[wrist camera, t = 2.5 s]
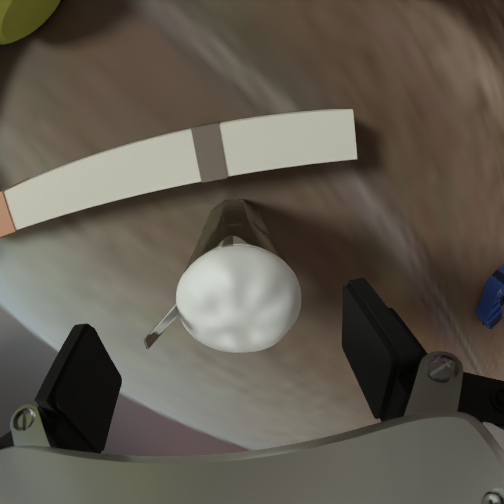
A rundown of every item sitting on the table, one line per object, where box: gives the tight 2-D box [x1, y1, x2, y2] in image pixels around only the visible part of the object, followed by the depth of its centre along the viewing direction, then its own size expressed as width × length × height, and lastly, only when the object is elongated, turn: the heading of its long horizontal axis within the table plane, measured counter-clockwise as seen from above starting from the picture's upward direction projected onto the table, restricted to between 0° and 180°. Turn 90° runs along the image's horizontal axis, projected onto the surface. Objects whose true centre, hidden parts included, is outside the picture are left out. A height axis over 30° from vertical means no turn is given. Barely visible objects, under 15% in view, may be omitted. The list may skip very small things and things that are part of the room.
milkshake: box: [144, 199, 301, 353], centre depth 13 cm, size 5×5×10 cm
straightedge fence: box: [0, 109, 357, 237], centre depth 14 cm, size 26×3×3 cm, turn 99°
